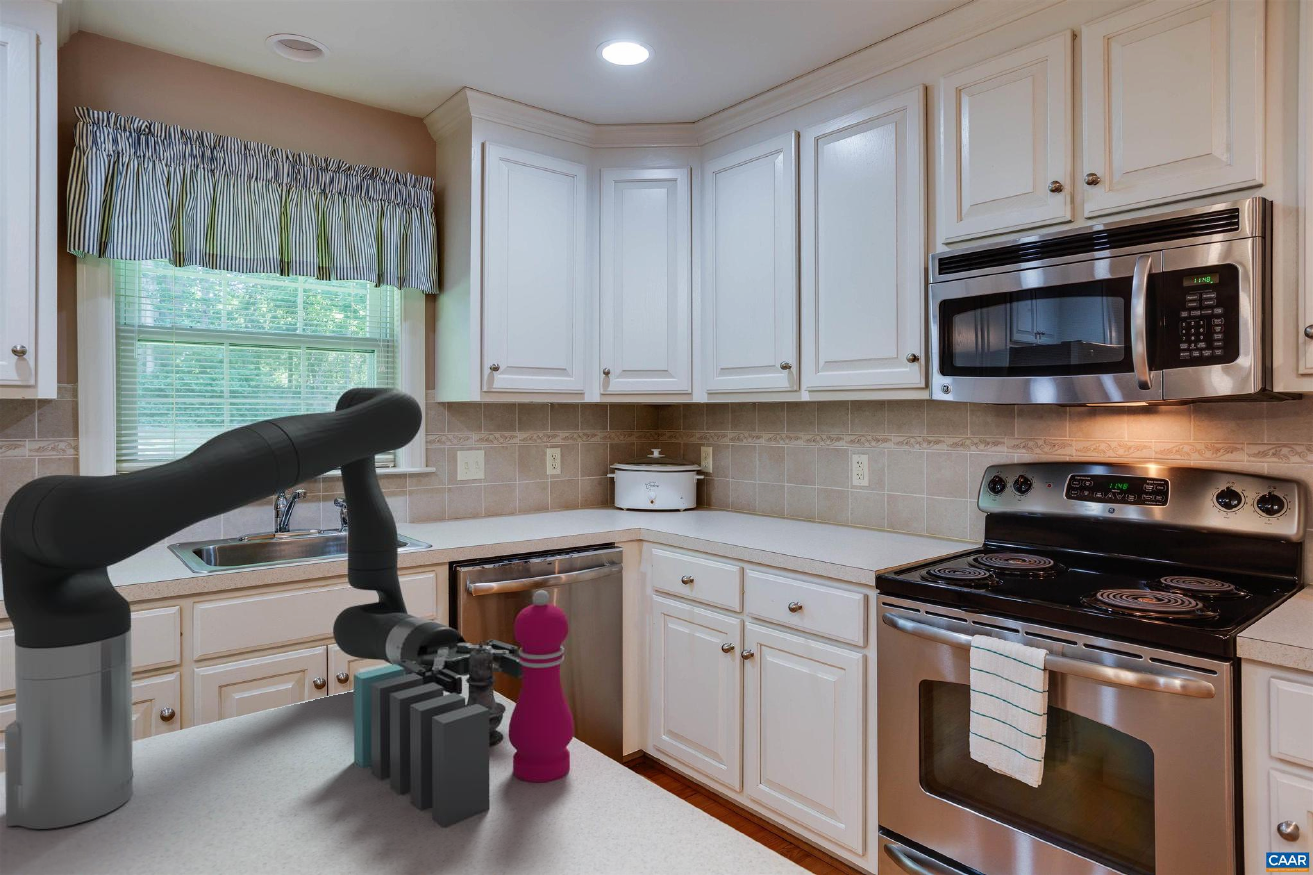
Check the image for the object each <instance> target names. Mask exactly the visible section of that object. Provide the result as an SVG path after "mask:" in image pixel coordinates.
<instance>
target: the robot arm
mask: <svg viewBox="0 0 1313 875" xmlns="http://www.w3.org/2000/svg"><path fill="white" fill-rule="evenodd" d="M334 408H335V409H334V411H326V412H324V411H323V412H312V413H305V414H304V413H303V414H294V415H288V416H287V415H286V416H280V417H274V418H269V419H264V420H260V421H256V422H253V423H249V424H246V425H243V426H238V427H235V428H233V429H230V430H227V431H224V432H222V433H219V434H218V435H216V436H213V437H211V438H210V439H209V440H207V441H205V442H204V443H203V444H201V445H200V446H198V447H197V448H196V449H194V450H193V451H191V452H190V453H188V454H186V455H185V456H182V457H181V458H178V459H175V460H173V461H170V462H167V463H163V464H160V465H159V464H158V465H155V466H152V467H148V468H144V469H140V470H139V469H138V470H134V471H129V472H123V473H118V474H109V475H76V474H75V475H74V474H54V475H52V474H51V475H47V476H41V477H37V478H35V479H33V480H30V481H29V482H26V483H25V484H24V485H22V486H20V487H19V488H18V489H17V490H16V491H15V492H14V493H13V494H12V495H11V496H10V498H9V500H8V501H7V503H6V505H5V507H4V509H3V514H2V517H1V521H0V522H1V523H0V565H1V566H0V567H1V578H2V581H1V582H2V595H3V596H2V597H3V604H4V608H5V612H6V614H7V617H8V618H9V620H10V622H11V624H12V626H13V631H14V632H13V633H14V672H15V673H14V674H15V678H14V679H15V680H14V682H15V720H14V721H12V722H11V723H9V724H8V725H7V726H6V727H5V730H4V765H5V766H4V773H5V774H4V775H5V777H4V778H5V779H4V781H5V785H4V786H5V826H6V827H12V826H14V827H15V826H20V827H23V828H25V829H26V828H28V829H33V830H34V829H35V830H42V829H43V830H47V829H48V830H49V829H54V828H63V827H67V826H73V825H76V824H79V823H85V822H87V821H90V820H93V819H96V818H99V817H101V816H104V815H106V814H108V813H110V812H112V811H114V810H116V809H118V808H120V807H121V806H122V805H124V804H125V803H126V802H127V801H128V800H130V799H131V797H132V796H133V778H134V769H133V766H134V765H133V680H132V679H133V672H132V670H133V668H132V661H133V660H132V659H133V658H132V611H131V610H132V608H131V604H130V603H129V601H128V600H127V599H126V598H125V597H124V596H123V595H122V594H121V593H120V592H118V591H117V589H116V588H115V587H114V584H113V583H112V581H111V579H110V576H109V573H108V572H109V571H108V567H110V566H113V565H115V564H118V563H121V562H123V561H124V560H125V561H126V560H127V559H129V558H131V557H132V556H135V555H137V554H139V553H141V552H142V551H144V550H146V549H148V548H150V547H152V546H154V545H156V544H157V543H160V542H161V541H163V540H165V539H167V538H169V537H172V536H173V535H175V534H176V533H178V532H181V531H183V530H185V529H187V528H189V527H191V526H193V525H195V524H198V523H200V522H204V521H205V520H208V519H211V518H214V517H218V516H221V515H224V514H226V513H229V512H232V511H234V510H238V509H240V508H244V507H245V506H248V505H251V504H253V503H257V502H259V501H262V500H265V499H268V498H270V497H272V496H275V495H278V494H280V493H283V492H285V491H287V490H289V489H293V488H295V487H297V486H300V485H301V484H303V483H305V482H308V481H310V480H314V479H316V478H317V477H321V476H323V475H325V474H327V473H329V472H332V471H334V470H337V469H338V468H339V469H340V474H341V481H342V487H343V494H344V499H345V508H346V514H347V515H346V516H347V580H348V584H349V585H350V587H352V588H354V589H355V590H356V589H357V590H360V591H361V590H362V591H372V592H373V591H374V592H376V594H377V596H378V601H375V602H369V603H364V604H359V605H351V606H349V607H347V608H345V609H343V610H342V611H341V612H340V613H339V614H338V615H337V616H336V618H335V620H334V623H333V626H332V627H333V628H332V634H333V638H334V641H335V643H336V645H337V646H338V648H339V649H340V650H341V651H342V652H343V653H345V654H346V655H348V656H350V657H353V658H358V659H367V660H377V661H378V660H379V661H385V662H386V663H388V664H390V665H395V664H396V665H398V666H400V667H402V668H404V675H408V674H412V673H415V674H417V675H419V676H421V677H423V685H426V684H430V683H435V684H438V685H440V686H442V687H444V692H445V693H448V694H451V693H456V694H458V695H462V693H463V678H462V677H467V676H468V675H469V655H470V654H471V652H472V651H474V650H475V649H477V648H479V646H478V644H472V643H471V642H467V641H466V640H465V638H464V637H463V635H462V633H461V632H459V631H458V630H456V629H455V628H453V627H451V626H447V625H444V624H443V623H442V624H441V623H439V622H436V621H433V620H431V619H427V618H421V617H420V618H419V617H417V616H415V615H411V614H408V610H407V607H406V603H405V600H404V598H403V597H404V596H403V594H402V589H401V585H400V579H399V574H398V564H399V563H398V562H399V561H398V560H399V559H398V558H399V557H398V553H399V552H398V551H399V546H398V544H399V543H398V542H399V538H398V530H397V529H398V528H397V525H396V521H395V518H394V515H393V513H392V510H391V508H390V506H389V504H388V502H387V499H386V497H385V496H384V492H383V490H382V488H381V485H380V482H379V479H378V474H377V470H376V456H377V455H380V454H384V453H388V452H391V451H392V452H393V451H396V450H399V449H403V448H404V447H406V446H407V445H409V444H410V443H411V442H412V441H413V440H414V439H415V437H416V436H417V434H418V433H419V430H420V429H421V426H422V422H423V421H422V420H423V413H422V409H421V406H420V404H419V402H418V400H417V399H415V397H414V396H412V394H410V393H408V392H407V391H404V390H402V389H398V388H395V387H394V388H392V387H353V388H350V389H348V390H347V391H345V392H344V393H342V394H341V396H340V397H339V398H338V400H337V402H336V405H335V407H334ZM483 647H484V648H485V649H488V650H490V651H491V652H492V655H493V672H500V673H503V674H505V675H508V676H510V677H512V678H515V679H519V678H523V669H522V665H521V664H520V663H519V661H518V660H519V658H518V651H519V647H518V646H516V645H512V644H508V643H505V642H502V641H499V640H497V639H492V638H491V639H487V640H486V645H483ZM494 663H495V664H494Z"/></svg>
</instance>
